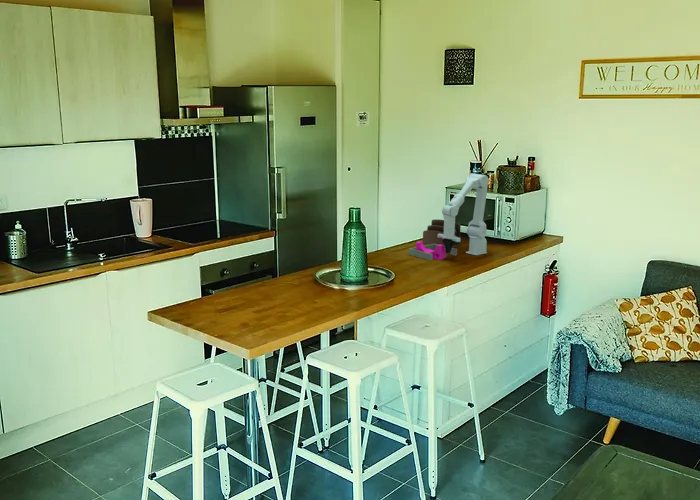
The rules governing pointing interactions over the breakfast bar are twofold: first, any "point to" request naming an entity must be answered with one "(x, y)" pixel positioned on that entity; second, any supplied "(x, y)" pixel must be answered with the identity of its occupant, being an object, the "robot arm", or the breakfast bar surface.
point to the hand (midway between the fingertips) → (448, 252)
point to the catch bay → (427, 255)
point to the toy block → (437, 253)
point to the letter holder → (438, 228)
